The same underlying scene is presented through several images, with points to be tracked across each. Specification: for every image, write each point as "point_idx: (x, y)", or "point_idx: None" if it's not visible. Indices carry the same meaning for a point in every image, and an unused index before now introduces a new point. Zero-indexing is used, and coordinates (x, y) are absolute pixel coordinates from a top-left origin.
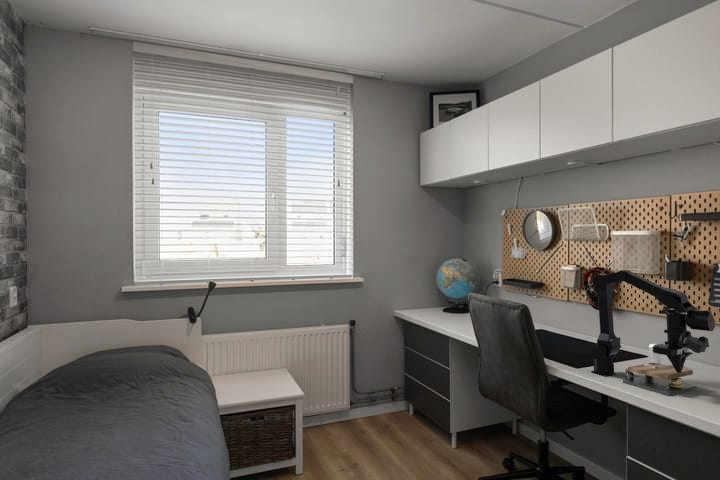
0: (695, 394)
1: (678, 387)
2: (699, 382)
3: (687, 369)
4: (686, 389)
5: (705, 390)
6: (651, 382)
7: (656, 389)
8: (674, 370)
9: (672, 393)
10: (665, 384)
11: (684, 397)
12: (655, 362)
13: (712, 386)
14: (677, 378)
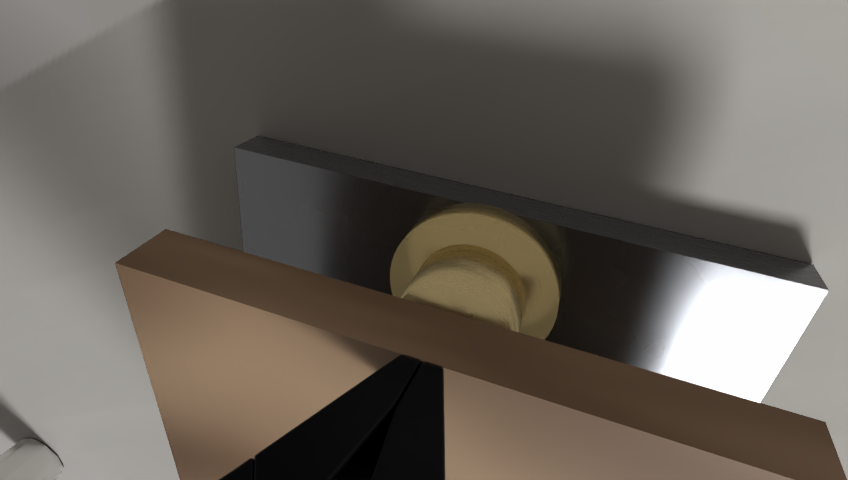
0: (448, 74)
1: (544, 247)
2: (62, 187)
3: (145, 316)
4: (417, 184)
5: (212, 63)
6: None
7: (756, 400)
8: None
9: (709, 249)
10: None
11: (709, 113)
12: (32, 477)
13: (48, 72)
14: None
